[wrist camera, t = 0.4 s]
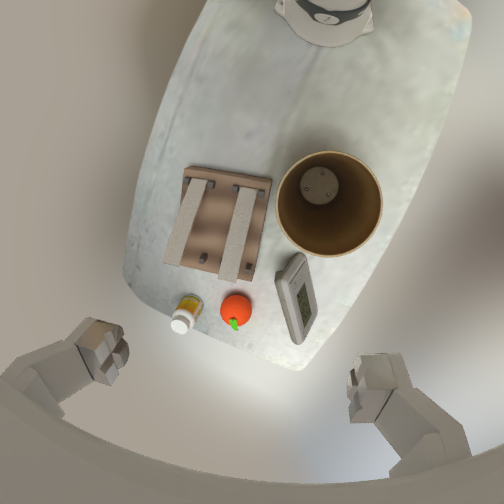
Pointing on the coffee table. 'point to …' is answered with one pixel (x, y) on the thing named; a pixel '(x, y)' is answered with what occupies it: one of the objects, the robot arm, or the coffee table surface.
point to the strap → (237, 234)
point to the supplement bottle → (186, 314)
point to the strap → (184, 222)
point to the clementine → (235, 310)
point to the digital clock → (297, 297)
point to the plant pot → (329, 204)
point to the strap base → (223, 219)
